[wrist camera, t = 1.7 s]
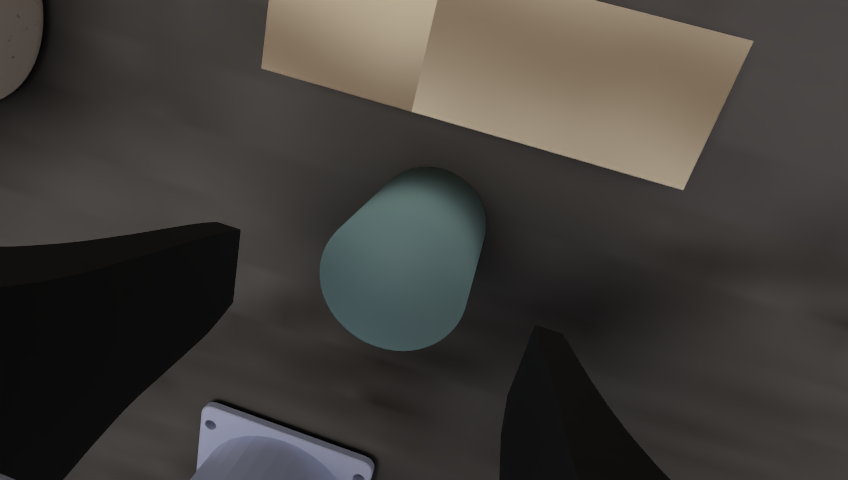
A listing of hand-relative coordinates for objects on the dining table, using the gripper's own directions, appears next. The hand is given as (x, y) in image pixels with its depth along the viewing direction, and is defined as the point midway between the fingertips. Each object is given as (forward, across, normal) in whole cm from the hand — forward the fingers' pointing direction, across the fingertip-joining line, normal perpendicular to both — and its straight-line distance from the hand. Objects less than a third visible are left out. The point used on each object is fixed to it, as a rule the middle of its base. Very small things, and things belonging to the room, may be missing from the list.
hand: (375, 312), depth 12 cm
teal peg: (+7, 0, 0) cm, 7 cm away
